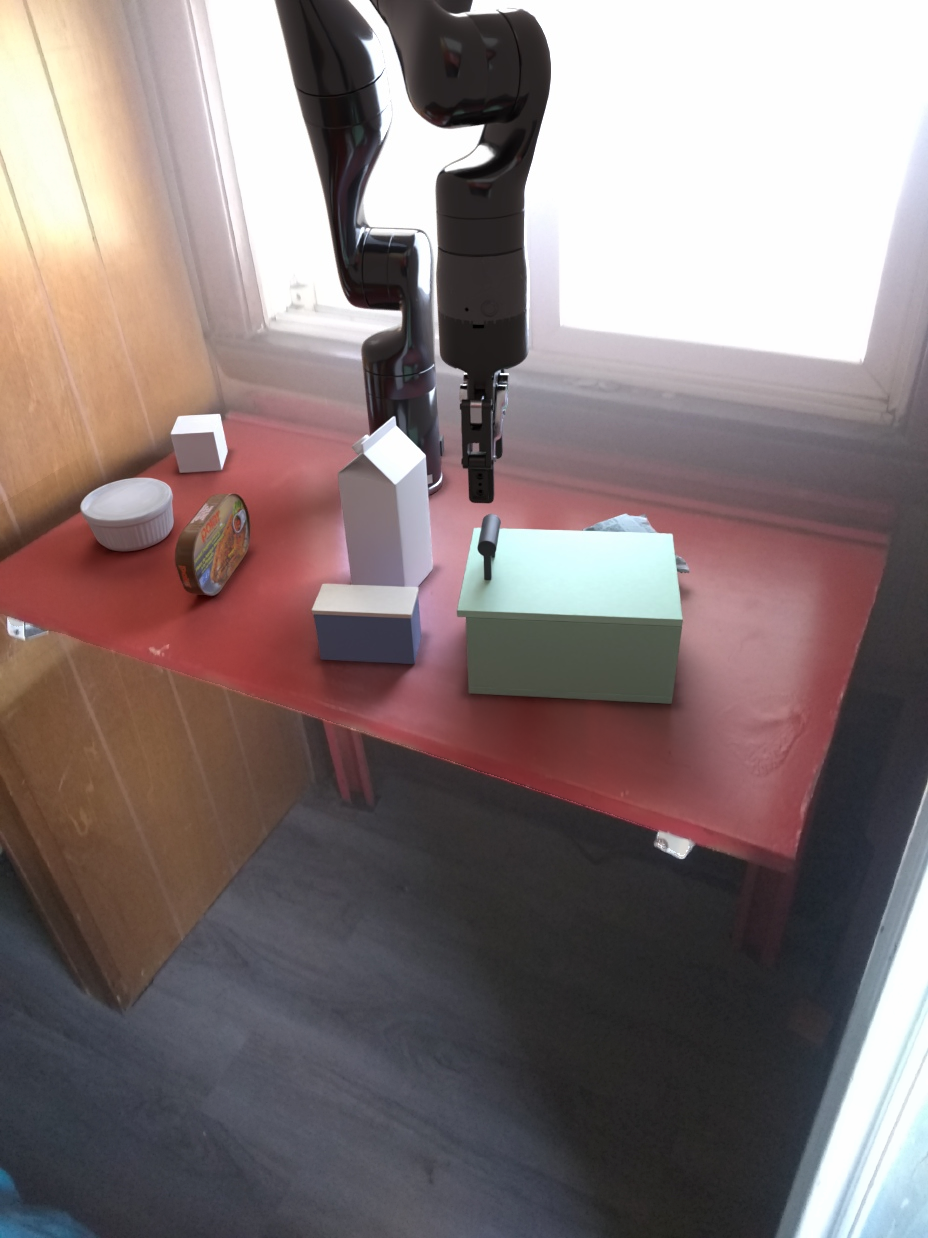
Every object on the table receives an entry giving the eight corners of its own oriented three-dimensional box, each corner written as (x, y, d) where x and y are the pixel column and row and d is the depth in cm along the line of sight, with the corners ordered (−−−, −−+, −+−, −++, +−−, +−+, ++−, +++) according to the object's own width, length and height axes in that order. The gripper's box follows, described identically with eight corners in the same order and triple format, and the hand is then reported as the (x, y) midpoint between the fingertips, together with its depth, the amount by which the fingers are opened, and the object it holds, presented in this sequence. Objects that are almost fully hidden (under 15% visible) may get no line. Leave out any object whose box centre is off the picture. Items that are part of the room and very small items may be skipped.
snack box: (330, 632, 100) (322, 583, 96) (422, 636, 99) (418, 586, 95) (319, 660, 96) (311, 610, 93) (415, 665, 95) (411, 614, 91)
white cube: (227, 451, 136) (220, 413, 133) (221, 470, 132) (213, 431, 128) (186, 453, 136) (178, 415, 133) (179, 472, 131) (170, 434, 128)
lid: (457, 617, 86) (454, 569, 83) (474, 533, 98) (472, 488, 94) (682, 626, 84) (688, 577, 80) (671, 540, 95) (677, 494, 92)
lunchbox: (468, 693, 91) (465, 618, 86) (483, 606, 103) (481, 534, 98) (671, 704, 89) (682, 627, 84) (663, 613, 101) (671, 540, 95)
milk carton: (433, 569, 109) (423, 421, 98) (406, 602, 104) (392, 449, 93) (381, 557, 112) (366, 411, 100) (351, 588, 107) (331, 438, 95)
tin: (207, 610, 104) (191, 547, 99) (181, 608, 105) (164, 545, 100) (256, 540, 116) (245, 480, 111) (233, 538, 117) (220, 479, 111)
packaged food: (645, 533, 114) (648, 498, 111) (688, 585, 105) (693, 548, 102) (579, 546, 113) (580, 511, 110) (617, 600, 103) (619, 563, 100)
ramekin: (108, 512, 123) (98, 476, 120) (191, 510, 123) (182, 475, 119) (77, 557, 114) (65, 521, 111) (166, 556, 114) (156, 520, 110)
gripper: (449, 275, 81) (456, 443, 91) (424, 331, 70) (435, 516, 80) (534, 275, 81) (531, 445, 90) (522, 332, 69) (521, 519, 79)
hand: (486, 478), depth 85 cm, fingers open, 8 cm apart
